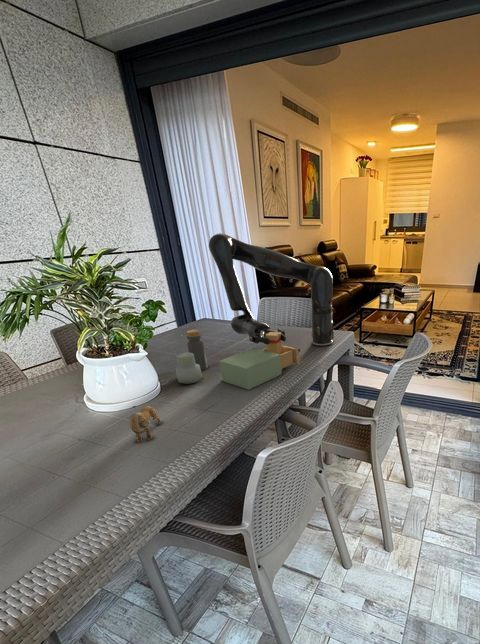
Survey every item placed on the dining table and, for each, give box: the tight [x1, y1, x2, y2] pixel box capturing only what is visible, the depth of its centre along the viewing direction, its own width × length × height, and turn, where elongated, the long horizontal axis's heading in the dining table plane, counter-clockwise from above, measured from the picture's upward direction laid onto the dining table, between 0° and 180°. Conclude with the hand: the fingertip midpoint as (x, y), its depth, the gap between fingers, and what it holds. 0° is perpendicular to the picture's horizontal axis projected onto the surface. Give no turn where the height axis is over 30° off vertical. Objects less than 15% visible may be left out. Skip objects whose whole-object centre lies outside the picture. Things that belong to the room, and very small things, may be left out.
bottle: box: [185, 329, 209, 371], centre depth 137 cm, size 6×6×15 cm
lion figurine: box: [128, 405, 162, 443], centre depth 95 cm, size 15×5×9 cm, turn 14°
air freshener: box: [175, 351, 203, 385], centre depth 127 cm, size 11×8×10 cm
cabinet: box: [219, 347, 283, 391], centre depth 128 cm, size 17×14×8 cm
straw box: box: [265, 332, 283, 354], centre depth 134 cm, size 4×4×8 cm
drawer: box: [262, 344, 301, 370], centre depth 138 cm, size 20×13×6 cm, turn 143°
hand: (276, 340), depth 131 cm, fingers closed on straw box, 6 cm apart
